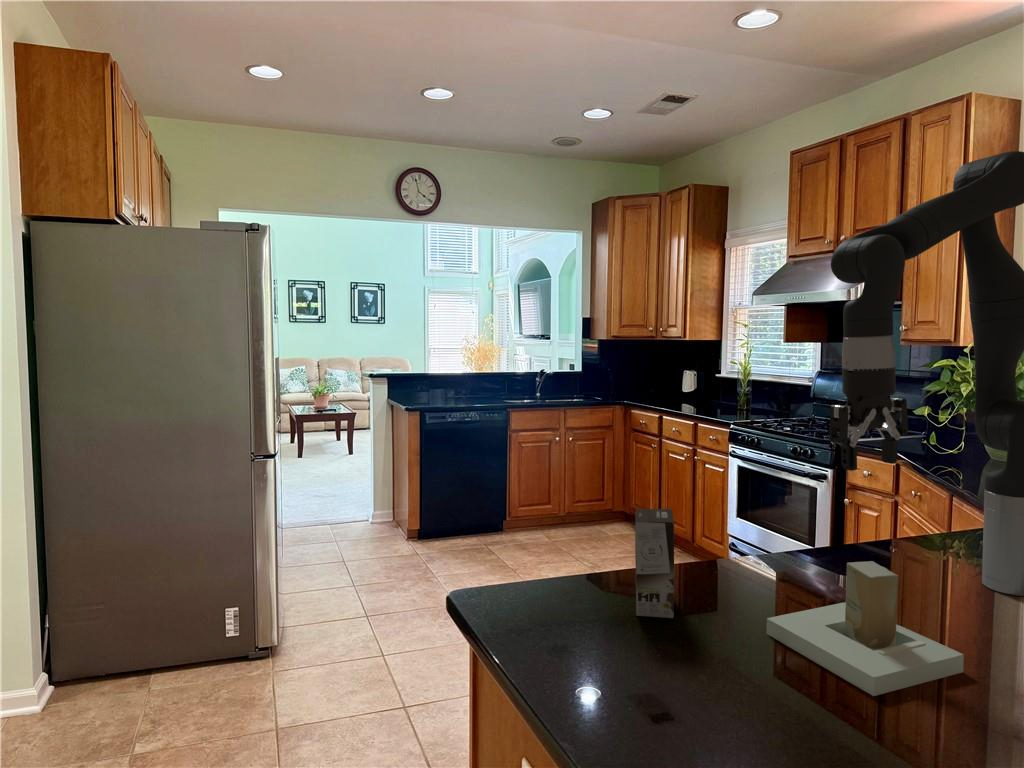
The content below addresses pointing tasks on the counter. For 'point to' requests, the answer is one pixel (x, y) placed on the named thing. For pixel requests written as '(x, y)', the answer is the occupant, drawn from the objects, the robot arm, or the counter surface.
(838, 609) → the socket board
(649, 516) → the coffee box
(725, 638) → the counter surface
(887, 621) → the skincare box
